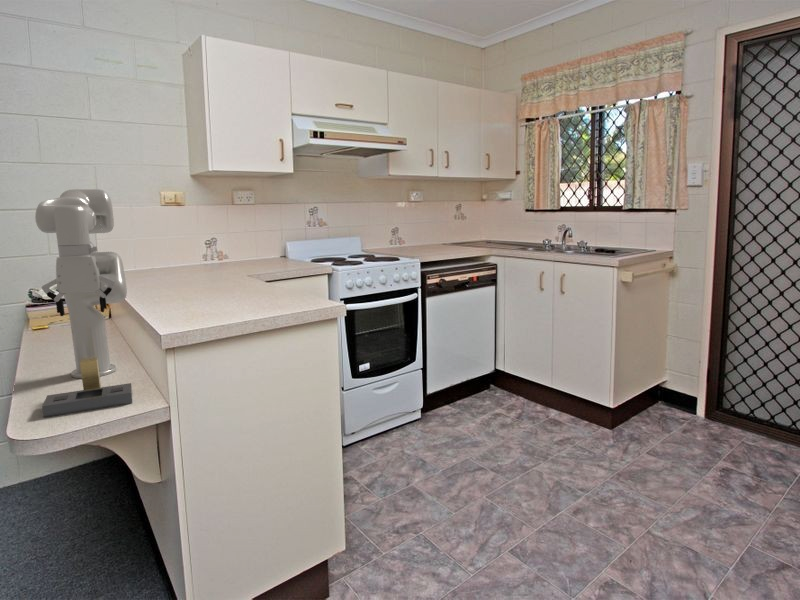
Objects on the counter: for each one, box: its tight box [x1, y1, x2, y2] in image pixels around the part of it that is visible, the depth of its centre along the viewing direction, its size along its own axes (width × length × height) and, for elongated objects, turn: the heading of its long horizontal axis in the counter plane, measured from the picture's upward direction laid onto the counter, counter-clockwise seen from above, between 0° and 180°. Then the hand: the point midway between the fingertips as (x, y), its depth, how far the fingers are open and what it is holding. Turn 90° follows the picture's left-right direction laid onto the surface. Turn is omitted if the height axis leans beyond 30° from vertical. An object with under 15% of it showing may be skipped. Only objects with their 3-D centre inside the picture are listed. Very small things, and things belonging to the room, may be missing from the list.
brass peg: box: [80, 357, 102, 390], centre depth 149 cm, size 4×4×10 cm
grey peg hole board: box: [41, 382, 133, 419], centre depth 141 cm, size 9×20×3 cm, turn 117°
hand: (82, 313), depth 146 cm, fingers open, 9 cm apart
